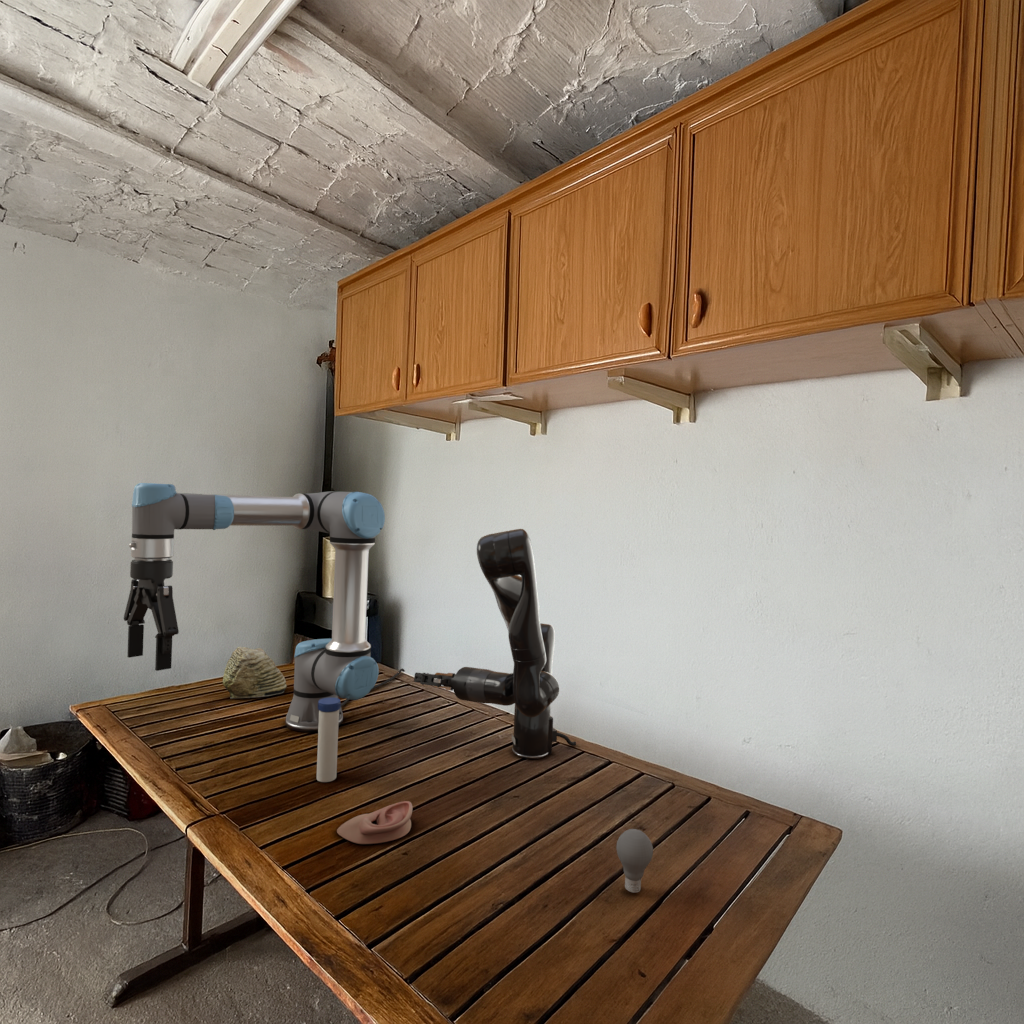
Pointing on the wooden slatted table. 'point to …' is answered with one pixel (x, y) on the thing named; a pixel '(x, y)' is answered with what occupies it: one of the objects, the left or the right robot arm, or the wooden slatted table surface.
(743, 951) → the wooden slatted table surface
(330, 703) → the lid
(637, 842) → the light bulb
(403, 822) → the anatomical model
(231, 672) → the fossil
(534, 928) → the wooden slatted table surface
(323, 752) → the white cylindrical bottle
